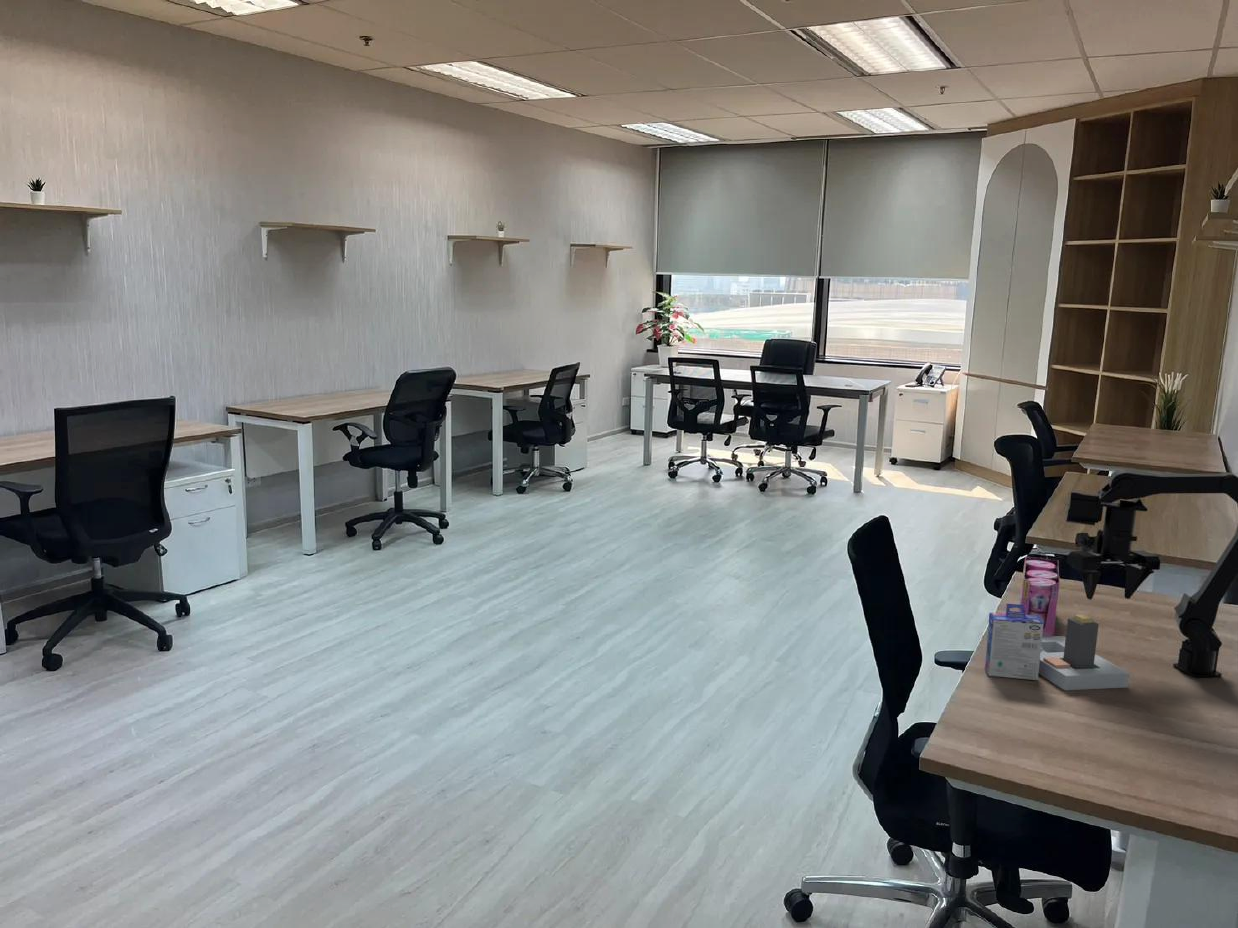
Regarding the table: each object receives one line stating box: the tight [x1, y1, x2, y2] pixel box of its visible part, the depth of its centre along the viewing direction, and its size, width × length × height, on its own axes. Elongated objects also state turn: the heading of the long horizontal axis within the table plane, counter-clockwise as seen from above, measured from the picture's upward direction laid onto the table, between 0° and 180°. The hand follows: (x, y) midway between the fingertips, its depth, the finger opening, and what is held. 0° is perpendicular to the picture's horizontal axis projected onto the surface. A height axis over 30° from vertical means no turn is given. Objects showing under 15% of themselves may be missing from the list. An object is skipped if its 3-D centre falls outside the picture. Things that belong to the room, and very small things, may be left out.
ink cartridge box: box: [984, 603, 1044, 681], centre depth 190 cm, size 10×6×14 cm, turn 79°
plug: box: [1063, 613, 1099, 669], centre depth 189 cm, size 4×4×13 cm
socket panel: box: [1038, 635, 1130, 691], centre depth 194 cm, size 14×21×4 cm, turn 9°
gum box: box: [1018, 556, 1061, 637], centre depth 221 cm, size 24×8×14 cm, turn 155°
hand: (1108, 598), depth 200 cm, fingers open, 9 cm apart
